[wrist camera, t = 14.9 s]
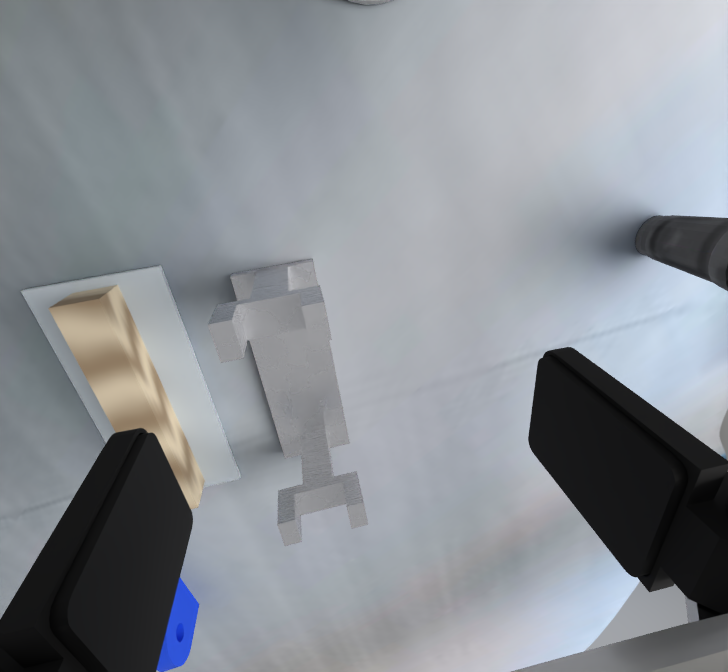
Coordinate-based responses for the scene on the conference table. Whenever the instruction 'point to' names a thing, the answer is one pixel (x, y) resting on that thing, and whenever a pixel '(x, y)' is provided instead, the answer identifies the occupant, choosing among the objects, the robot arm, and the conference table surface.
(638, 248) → the beverage cup
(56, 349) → the mat
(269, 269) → the rail stand
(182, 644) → the bracket
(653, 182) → the conference table surface
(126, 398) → the rail
